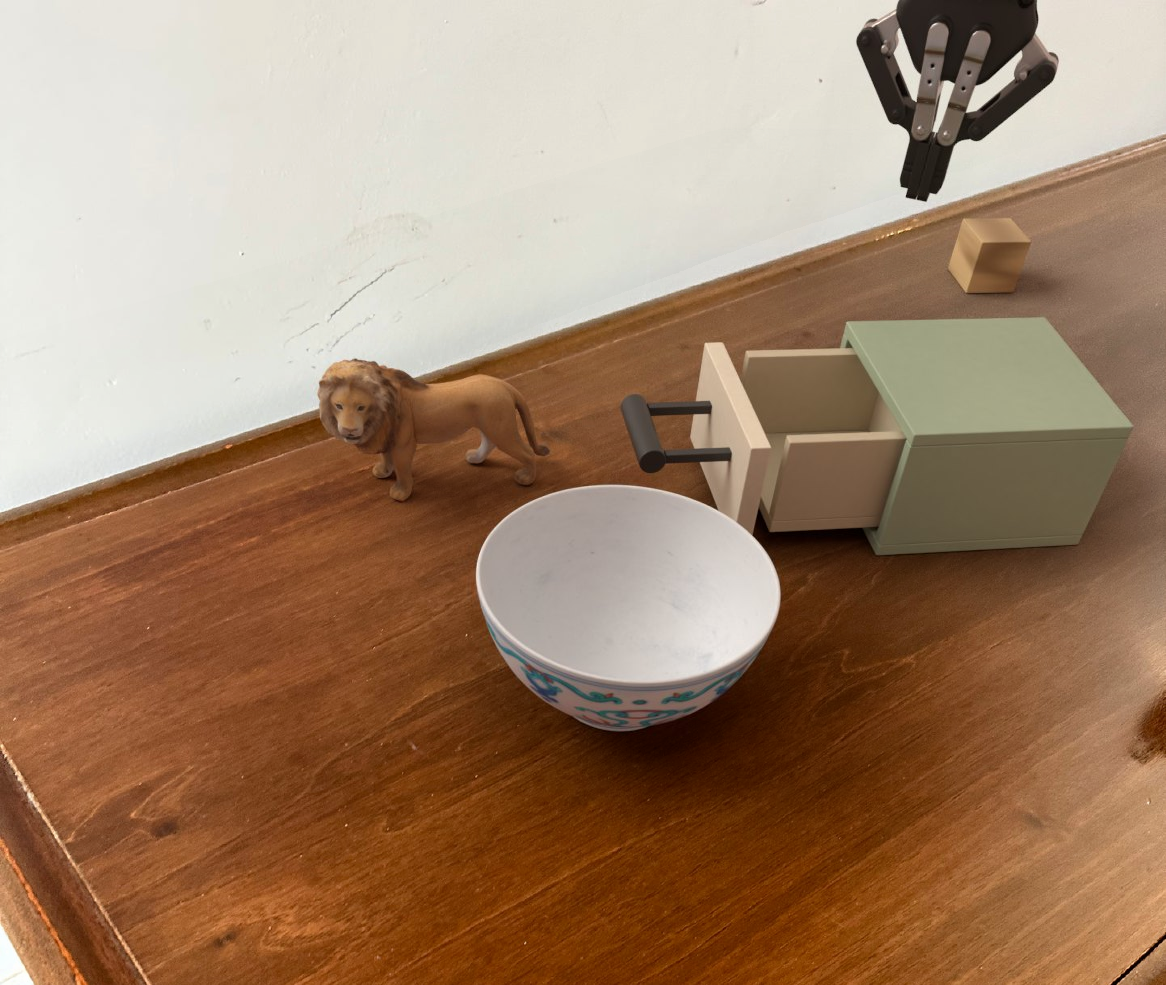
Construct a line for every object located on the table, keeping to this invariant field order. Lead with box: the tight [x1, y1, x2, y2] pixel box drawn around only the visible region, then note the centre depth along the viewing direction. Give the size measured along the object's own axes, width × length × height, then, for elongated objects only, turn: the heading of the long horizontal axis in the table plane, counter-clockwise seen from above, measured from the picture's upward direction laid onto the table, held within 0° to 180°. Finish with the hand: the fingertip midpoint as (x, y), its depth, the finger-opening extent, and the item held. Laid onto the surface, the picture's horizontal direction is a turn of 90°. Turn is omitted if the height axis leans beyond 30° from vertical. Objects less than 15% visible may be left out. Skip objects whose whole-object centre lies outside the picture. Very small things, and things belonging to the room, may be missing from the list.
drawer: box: [620, 342, 907, 536], centre depth 73 cm, size 18×11×7 cm, turn 100°
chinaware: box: [475, 484, 782, 732], centre depth 61 cm, size 15×15×8 cm
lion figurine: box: [317, 357, 551, 502], centre depth 72 cm, size 15×5×9 cm, turn 115°
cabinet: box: [839, 316, 1134, 556], centre depth 75 cm, size 14×13×9 cm
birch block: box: [947, 217, 1032, 294], centre depth 97 cm, size 4×4×4 cm
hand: (918, 195), depth 81 cm, fingers closed
